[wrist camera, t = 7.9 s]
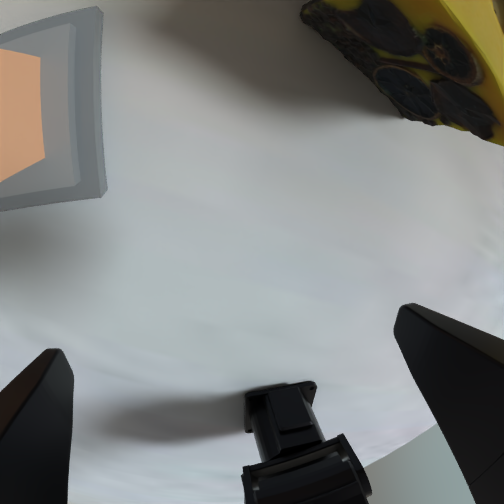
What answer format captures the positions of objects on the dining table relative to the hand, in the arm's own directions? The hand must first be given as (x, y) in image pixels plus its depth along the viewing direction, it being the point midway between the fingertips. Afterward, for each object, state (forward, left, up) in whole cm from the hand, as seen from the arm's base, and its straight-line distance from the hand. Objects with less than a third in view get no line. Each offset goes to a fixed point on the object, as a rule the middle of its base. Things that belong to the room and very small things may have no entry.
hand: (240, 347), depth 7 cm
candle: (+12, -12, -12) cm, 20 cm away
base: (+6, +10, -12) cm, 17 cm away
